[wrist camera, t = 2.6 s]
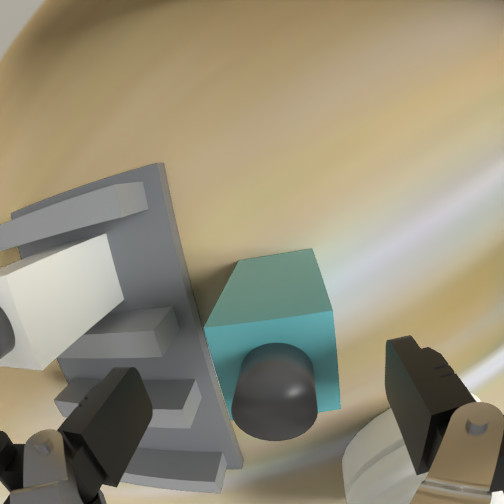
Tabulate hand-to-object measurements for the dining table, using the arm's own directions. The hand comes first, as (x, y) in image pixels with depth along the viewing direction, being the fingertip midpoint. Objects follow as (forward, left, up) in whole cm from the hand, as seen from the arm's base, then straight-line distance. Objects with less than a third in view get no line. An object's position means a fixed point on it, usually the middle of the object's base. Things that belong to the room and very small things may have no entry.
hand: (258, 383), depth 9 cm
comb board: (+10, +3, -9) cm, 14 cm away
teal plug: (-1, 0, -9) cm, 9 cm away
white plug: (+10, -3, -8) cm, 13 cm away
